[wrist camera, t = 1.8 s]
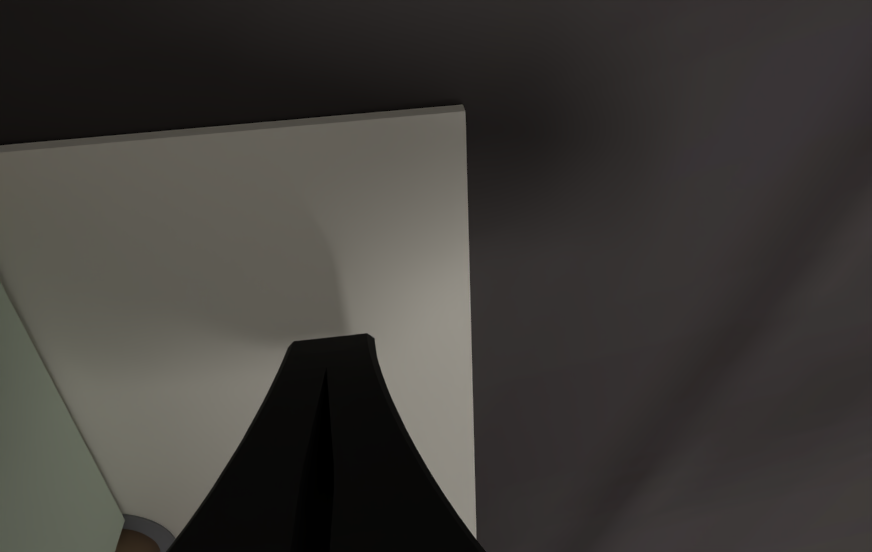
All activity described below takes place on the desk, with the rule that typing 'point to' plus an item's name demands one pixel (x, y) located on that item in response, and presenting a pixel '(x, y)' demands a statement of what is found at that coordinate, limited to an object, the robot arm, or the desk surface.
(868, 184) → the desk surface
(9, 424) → the fence swing panel
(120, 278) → the card
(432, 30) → the desk surface
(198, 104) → the desk surface
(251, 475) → the robot arm
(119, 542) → the fence fixed section
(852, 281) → the desk surface
